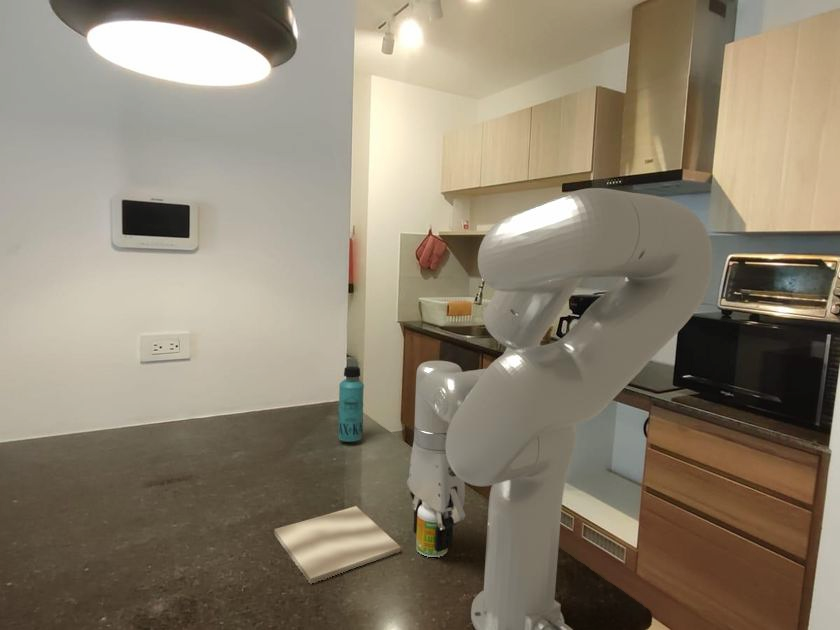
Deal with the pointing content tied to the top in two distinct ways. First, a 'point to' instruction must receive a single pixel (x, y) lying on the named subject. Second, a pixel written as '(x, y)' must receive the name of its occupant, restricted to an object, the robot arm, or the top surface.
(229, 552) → the top surface
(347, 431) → the beverage bottle
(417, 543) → the supplement bottle
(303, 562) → the birch board
